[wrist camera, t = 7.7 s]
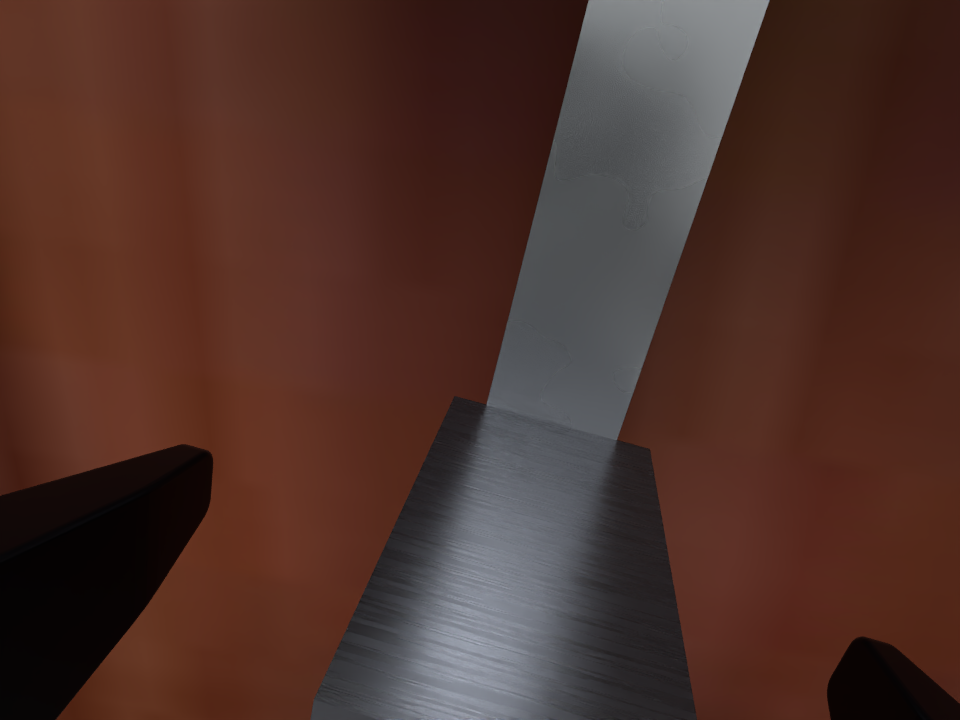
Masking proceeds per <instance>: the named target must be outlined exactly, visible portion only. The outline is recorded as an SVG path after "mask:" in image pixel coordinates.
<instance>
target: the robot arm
mask: <svg viewBox="0 0 960 720" xmlns="http://www.w3.org/2000/svg"><path fill="white" fill-rule="evenodd" d="M212 473H213V457H212V454H211V453H210V452H209V451H208V450H204V449H201V448H197V447H194V446H190V445H186V444H181V445H177V446H174V447H170V448H167V449H163V450H160V451H156V452H153V453H149V454H146V455H142V456H139V457H135V458H132V459H128V460H125V461H121V462H118V463H114V464H111V465H107V466H104V467H100V468H97V469H93V470H90V471H86V472H83V473H79V474H76V475H72V476H68V477H65V478H61V479H58V480H54V481H51V482H47V483H44V484H40V485H37V486H33V487H30V488H26V489H23V490H19V491H16V492H12V493H9V494H5V495H2V496H0V720H56V719H57V717H58V716H59V715H60V714H61V712H62V711H63V710H64V709H65V707H66V706H67V705H68V704H69V702H70V701H71V700H72V699H73V697H74V696H75V695H76V694H77V693H78V691H79V690H80V689H81V688H82V686H83V685H84V684H85V683H86V681H87V680H88V679H89V678H90V676H91V675H92V674H93V673H94V671H95V670H96V669H97V668H98V666H99V665H100V664H101V663H102V661H103V660H104V659H105V658H106V657H107V655H108V654H109V653H110V652H111V650H112V649H113V648H114V647H115V645H116V644H117V643H118V642H119V640H120V639H121V638H122V637H123V635H124V634H125V633H126V632H127V630H128V629H129V628H130V627H131V625H132V624H133V623H134V622H135V620H136V619H137V618H138V617H139V615H140V614H141V613H142V611H143V610H144V609H145V607H146V606H147V605H148V603H149V602H150V600H151V599H152V597H153V596H154V594H155V593H156V591H157V590H158V588H159V587H160V585H161V584H162V582H163V581H164V579H165V577H166V576H167V574H168V573H169V571H170V570H171V568H172V567H173V565H174V563H175V562H176V560H177V559H178V557H179V556H180V554H181V553H182V551H183V549H184V548H185V546H186V545H187V543H188V542H189V540H190V539H191V537H192V535H193V534H194V532H195V531H196V529H197V528H198V526H199V525H200V523H201V521H202V520H203V518H204V517H205V515H206V513H207V510H208V508H209V504H210V499H211V486H212ZM827 699H828V706H829V712H830V718H831V720H960V704H959V703H958V702H957V701H956V700H955V699H954V698H952V697H951V696H950V695H949V694H948V693H947V692H946V691H945V690H943V689H942V688H941V687H940V686H939V685H938V684H937V683H935V682H934V681H933V680H932V679H931V678H930V677H929V676H927V675H926V674H925V673H924V672H923V671H922V670H921V669H919V668H918V667H917V666H916V665H915V664H914V663H913V662H911V661H910V660H909V659H908V658H907V657H906V656H905V655H903V654H902V653H901V652H900V651H899V650H898V649H897V648H895V647H894V646H892V645H890V644H888V643H885V642H881V641H878V640H874V639H871V638H867V637H858V638H856V639H854V640H853V641H852V642H851V644H850V645H849V647H848V649H847V650H846V652H845V654H844V655H843V657H842V659H841V661H840V662H839V664H838V666H837V667H836V669H835V671H834V672H833V674H832V676H831V678H830V680H829V683H828V688H827Z"/></svg>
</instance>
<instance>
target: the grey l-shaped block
mask: <svg viewBox="0 0 960 720" xmlns="http://www.w3.org/2000/svg"><path fill="white" fill-rule="evenodd" d="M768 3H769V0H589V1H588V5H587V9H586V13H585V17H584V21H583V25H582V29H581V33H580V37H579V41H578V45H577V49H576V53H575V57H574V61H573V65H572V69H571V72H570V76H569V80H568V84H567V88H566V92H565V96H564V100H563V104H562V108H561V112H560V116H559V120H558V124H557V128H556V132H555V136H554V140H553V144H552V148H551V152H550V156H549V160H548V164H547V168H546V172H545V176H544V180H543V183H542V187H541V191H540V195H539V199H538V203H537V207H536V211H535V215H534V219H533V223H532V227H531V231H530V235H529V239H528V243H527V247H526V251H525V255H524V259H523V263H522V267H521V271H520V275H519V279H518V283H517V287H516V290H515V294H514V298H513V302H512V306H511V310H510V314H509V318H508V322H507V326H506V330H505V334H504V338H503V342H502V346H501V350H500V354H499V358H498V362H497V366H496V370H495V374H494V378H493V382H492V386H491V390H490V394H489V398H488V401H487V405H486V404H482V403H478V402H475V401H471V400H467V399H463V398H460V397H456V396H454V399H453V401H452V403H451V405H450V407H449V409H448V412H447V414H446V416H445V418H444V420H443V422H442V424H441V427H440V429H439V431H438V433H437V435H436V437H435V440H434V442H433V444H432V446H431V448H430V450H429V453H428V455H427V457H426V459H425V461H424V463H423V465H422V468H421V470H420V472H419V474H418V476H417V478H416V481H415V483H414V485H413V487H412V489H411V491H410V494H409V496H408V498H407V500H406V502H405V504H404V506H403V509H402V511H401V513H400V515H399V517H398V519H397V522H396V524H395V526H394V528H393V530H392V532H391V535H390V537H389V539H388V541H387V543H386V545H385V547H384V550H383V552H382V554H381V556H380V558H379V560H378V563H377V565H376V567H375V569H374V571H373V573H372V576H371V578H370V580H369V582H368V584H367V586H366V588H365V591H364V593H363V595H362V597H361V599H360V601H359V604H358V606H357V608H356V610H355V612H354V614H353V617H352V619H351V621H350V623H349V625H348V627H347V630H346V632H345V634H344V636H343V638H342V640H341V642H340V645H339V647H338V649H337V651H336V653H335V655H334V658H333V660H332V662H331V664H330V666H329V668H328V671H327V673H326V675H325V677H324V679H323V681H322V683H321V686H320V688H319V690H318V692H317V694H316V696H315V699H314V703H313V708H312V714H311V720H697V718H696V712H695V706H694V700H693V695H692V689H691V683H690V677H689V672H688V666H687V660H686V654H685V649H684V643H683V637H682V631H681V626H680V620H679V614H678V608H677V603H676V597H675V591H674V585H673V580H672V574H671V568H670V562H669V557H668V551H667V545H666V539H665V534H664V528H663V522H662V516H661V511H660V505H659V499H658V493H657V488H656V482H655V476H654V470H653V465H652V459H651V453H650V449H648V448H644V447H640V446H637V445H633V444H629V443H625V442H622V441H618V440H617V438H618V435H619V432H620V429H621V426H622V424H623V421H624V418H625V415H626V412H627V409H628V406H629V403H630V401H631V398H632V395H633V392H634V389H635V386H636V383H637V380H638V378H639V375H640V372H641V369H642V366H643V363H644V360H645V357H646V354H647V352H648V349H649V346H650V343H651V340H652V337H653V334H654V331H655V329H656V326H657V323H658V320H659V317H660V314H661V311H662V308H663V306H664V303H665V300H666V297H667V294H668V291H669V288H670V285H671V282H672V280H673V277H674V274H675V271H676V268H677V265H678V262H679V259H680V257H681V254H682V251H683V248H684V245H685V242H686V239H687V236H688V234H689V231H690V228H691V225H692V222H693V219H694V216H695V213H696V210H697V208H698V205H699V202H700V199H701V196H702V193H703V190H704V187H705V185H706V182H707V179H708V176H709V173H710V170H711V167H712V164H713V162H714V159H715V156H716V153H717V150H718V147H719V144H720V141H721V139H722V136H723V133H724V130H725V127H726V124H727V121H728V118H729V115H730V113H731V110H732V107H733V104H734V101H735V98H736V95H737V92H738V90H739V87H740V84H741V81H742V78H743V75H744V72H745V69H746V67H747V64H748V61H749V58H750V55H751V52H752V49H753V46H754V43H755V41H756V38H757V35H758V32H759V29H760V26H761V23H762V20H763V18H764V15H765V12H766V9H767V6H768Z"/></svg>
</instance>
